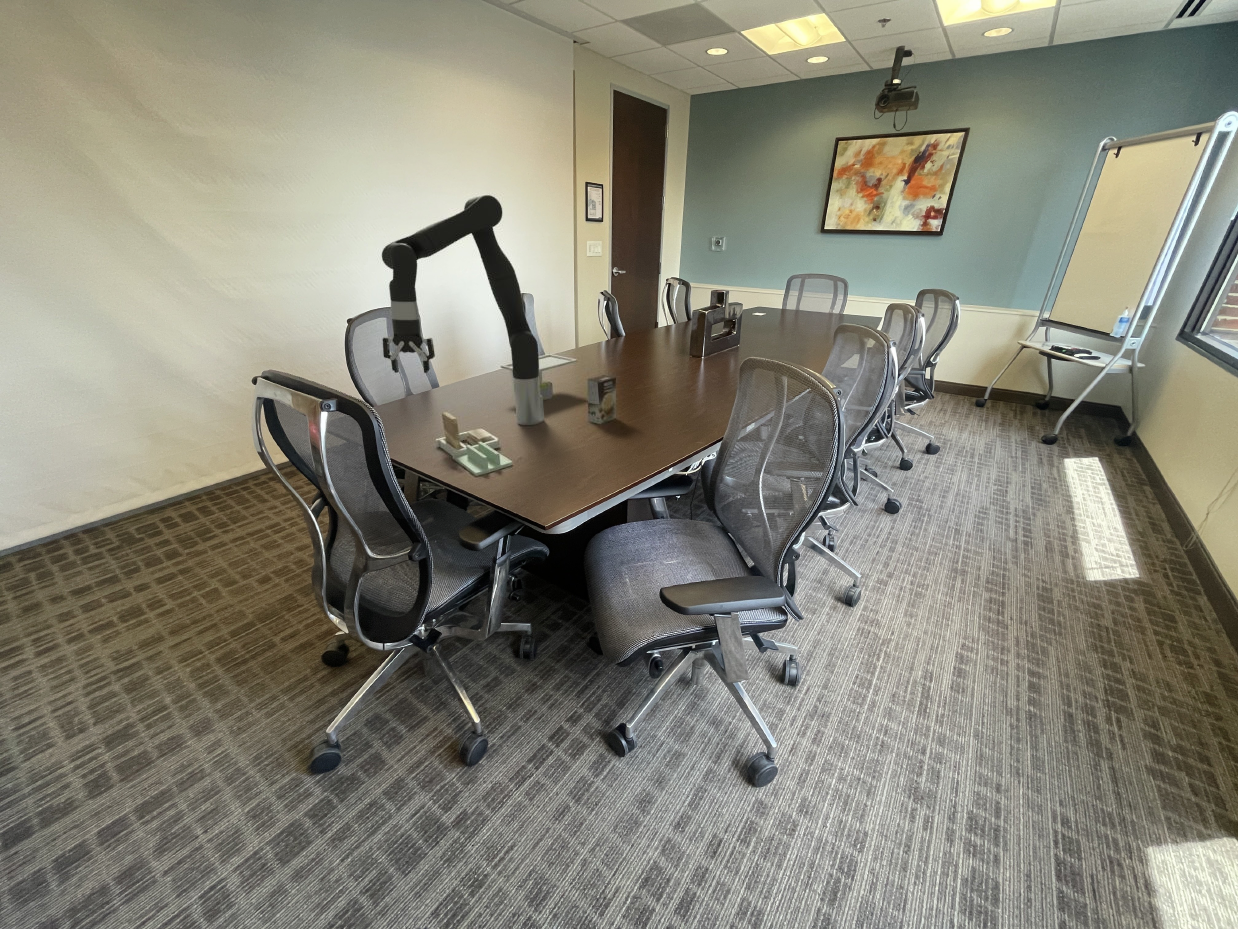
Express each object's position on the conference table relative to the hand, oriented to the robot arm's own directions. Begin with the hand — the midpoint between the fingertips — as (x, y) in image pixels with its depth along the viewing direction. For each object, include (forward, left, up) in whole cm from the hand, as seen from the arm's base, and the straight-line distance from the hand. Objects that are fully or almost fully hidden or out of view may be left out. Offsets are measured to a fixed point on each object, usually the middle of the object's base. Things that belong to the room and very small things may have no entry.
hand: (411, 372), depth 152 cm
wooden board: (-7, +8, -25) cm, 27 cm away
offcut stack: (-16, +8, -25) cm, 31 cm away
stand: (-10, +23, -25) cm, 35 cm away
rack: (-12, +8, -25) cm, 29 cm away
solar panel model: (-60, -23, -26) cm, 69 cm away
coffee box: (-62, +16, -26) cm, 69 cm away
